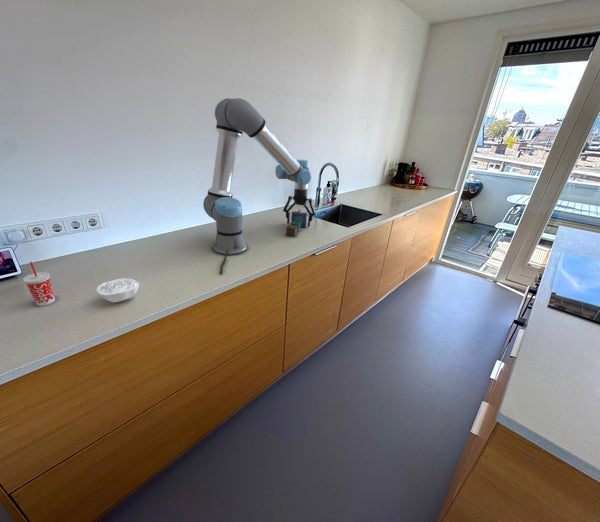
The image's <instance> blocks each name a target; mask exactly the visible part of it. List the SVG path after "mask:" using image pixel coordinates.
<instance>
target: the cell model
mask: <svg viewBox="0 0 600 522" xmlns="http://www.w3.org/2000/svg"><path fill="white" fill-rule="evenodd" d="M139 287H140V282H139V281H137V280H135V279H133V278H126V277H122V278H118V279H113V280H109V281H105V282H103V283H101V284H99V285H98V286H97V287H96V292H97V294H99V295H100V297H101V298H102V299H103V300H105V301H108V302H109V303H112V304H115V303H120V302H123V301H126V300H129V299H132V298H134V297H135V295H136V294H137V292H138V290H139Z"/></svg>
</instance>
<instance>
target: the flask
mask: <svg viewBox="0 0 600 522" xmlns="http://www.w3.org/2000/svg"><path fill="white" fill-rule="evenodd" d="M301 210H302V209H298V211H297V210H293V211H291V215H290V223H291V222H292V221H298V222H301V228H300V229H305V228H307V223H308V219H307V218H308V212H307V211H306V212H304V211H301Z"/></svg>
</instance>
